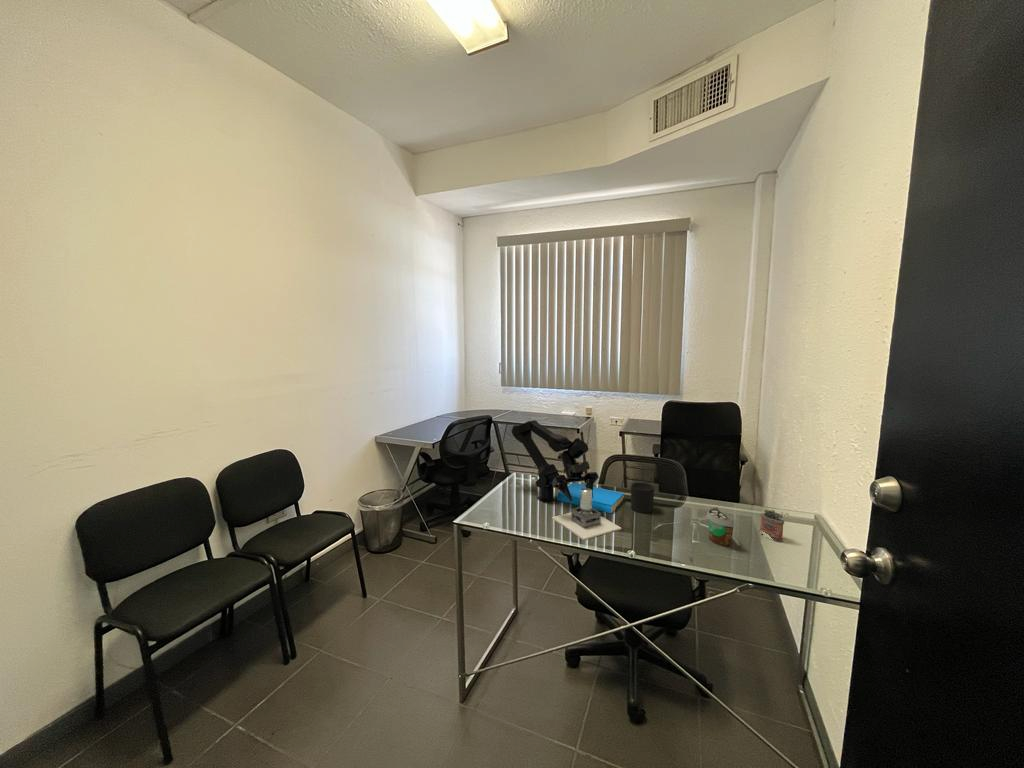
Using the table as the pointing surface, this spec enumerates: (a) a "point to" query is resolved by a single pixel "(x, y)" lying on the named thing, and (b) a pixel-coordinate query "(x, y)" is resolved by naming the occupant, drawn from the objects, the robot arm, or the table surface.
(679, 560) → the table surface
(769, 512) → the lighter
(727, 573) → the table surface
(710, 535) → the food container
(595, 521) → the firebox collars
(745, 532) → the table surface
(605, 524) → the tile
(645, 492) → the pen holder
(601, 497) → the book
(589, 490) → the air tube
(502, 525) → the table surface
